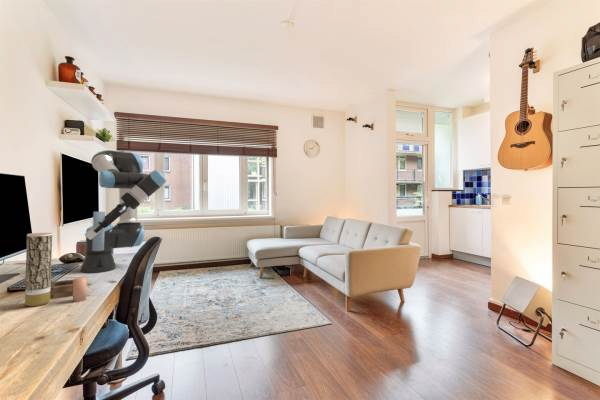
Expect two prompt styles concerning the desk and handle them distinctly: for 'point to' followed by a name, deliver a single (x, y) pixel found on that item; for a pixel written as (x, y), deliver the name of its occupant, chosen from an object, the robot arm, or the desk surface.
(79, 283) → the terracotta pin
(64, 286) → the walnut socket block
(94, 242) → the slate-blue pin
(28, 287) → the bark-patterned canister
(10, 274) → the desk surface
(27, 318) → the desk surface
